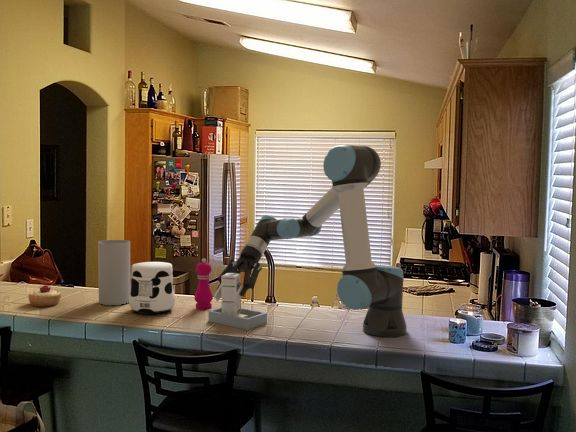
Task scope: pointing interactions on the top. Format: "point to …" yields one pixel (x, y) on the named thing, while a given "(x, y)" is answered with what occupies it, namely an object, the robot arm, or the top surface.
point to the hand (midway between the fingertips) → (225, 300)
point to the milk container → (151, 287)
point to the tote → (239, 318)
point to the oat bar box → (242, 315)
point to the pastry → (44, 297)
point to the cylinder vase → (114, 272)
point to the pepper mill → (203, 286)
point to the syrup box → (230, 293)
